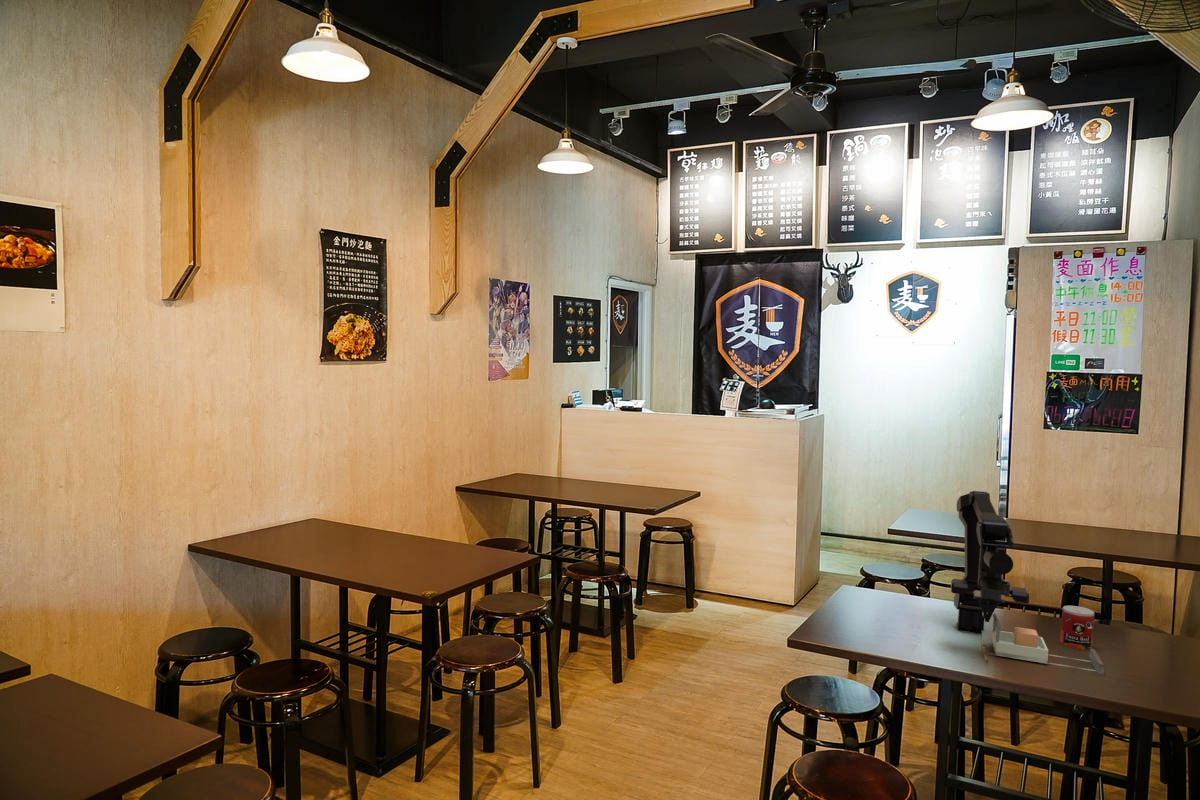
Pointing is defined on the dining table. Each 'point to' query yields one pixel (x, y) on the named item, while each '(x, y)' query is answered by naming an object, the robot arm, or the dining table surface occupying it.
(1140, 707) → the dining table surface
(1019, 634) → the block
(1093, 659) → the track
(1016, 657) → the tray with handle
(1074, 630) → the canned food
